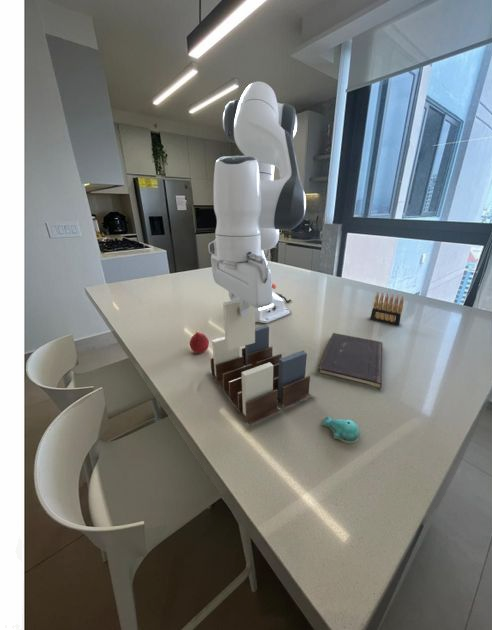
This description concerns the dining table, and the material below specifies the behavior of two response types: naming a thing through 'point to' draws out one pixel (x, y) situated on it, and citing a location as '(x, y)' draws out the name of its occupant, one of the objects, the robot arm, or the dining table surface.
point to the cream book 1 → (238, 326)
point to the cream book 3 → (256, 382)
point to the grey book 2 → (291, 369)
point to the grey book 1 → (258, 341)
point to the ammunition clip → (387, 310)
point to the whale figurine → (343, 429)
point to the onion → (199, 342)
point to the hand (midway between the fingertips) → (240, 313)
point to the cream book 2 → (222, 352)
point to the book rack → (267, 403)
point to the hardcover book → (354, 359)
